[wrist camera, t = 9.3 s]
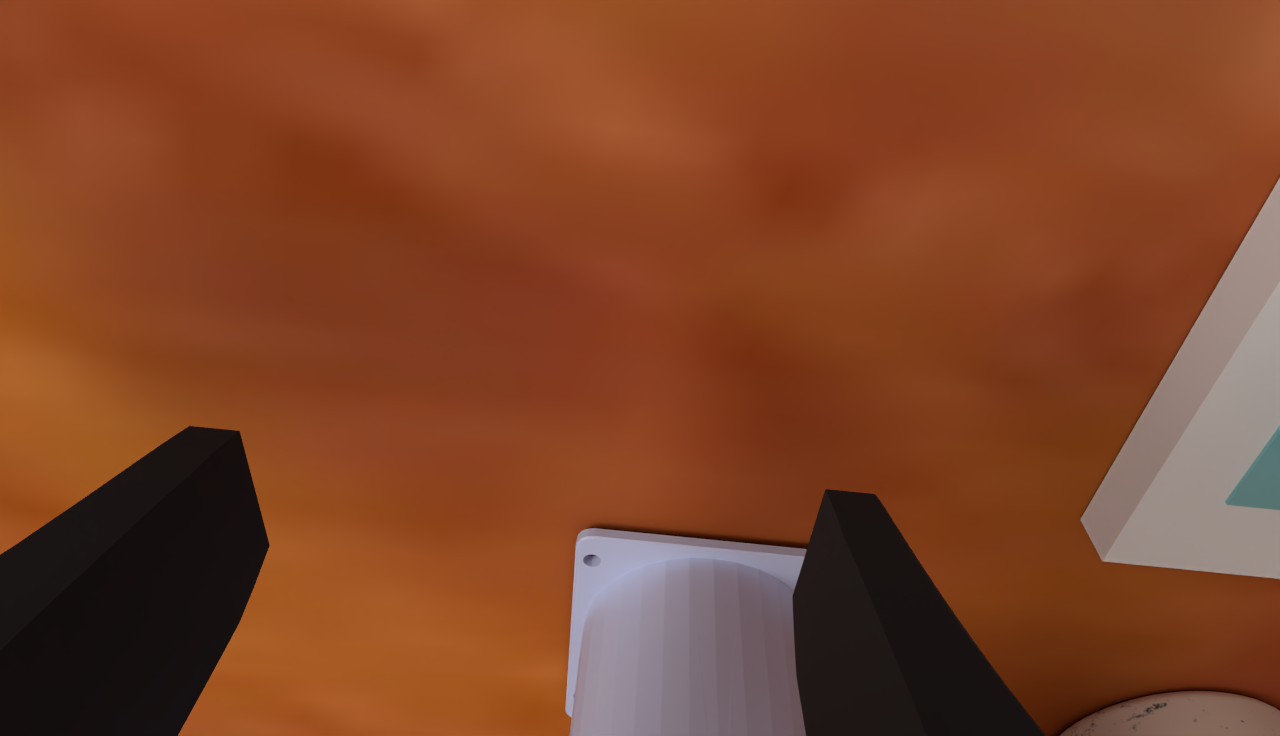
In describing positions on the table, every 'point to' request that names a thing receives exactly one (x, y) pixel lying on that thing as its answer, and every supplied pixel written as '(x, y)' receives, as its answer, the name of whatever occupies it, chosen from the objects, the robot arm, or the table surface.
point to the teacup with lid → (1182, 716)
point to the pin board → (1208, 435)
